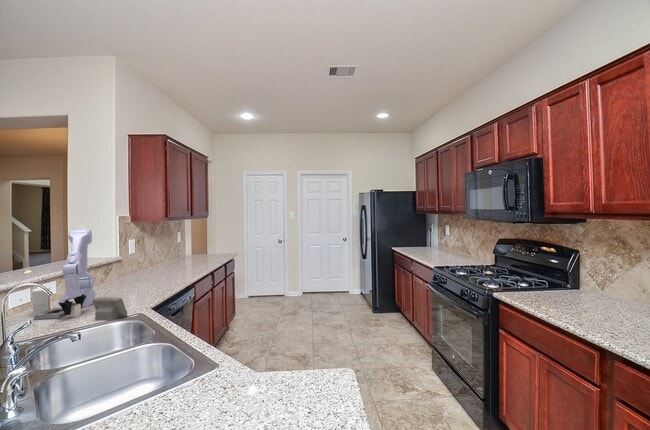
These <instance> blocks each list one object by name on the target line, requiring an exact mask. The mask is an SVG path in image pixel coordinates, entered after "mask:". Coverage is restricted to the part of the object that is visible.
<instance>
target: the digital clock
mask: <svg viewBox="0 0 650 430" xmlns="http://www.w3.org/2000/svg"><path fill="white" fill-rule="evenodd" d="M92 302H93V304H92V305H93V306H94V309H95V311H94V317H95V319H94V320H95V321H113V320H112V319H114V320H115V318H116V319H118V318H120V317H121V318H123V317H127V316H128V311H127V307H126V306H125V302H124V300H123V297H118V296H117V297H116V296H111V297H108V296H107V297H106V296H100V297H99V296H95V298H93V299H92ZM117 317H118V318H117Z"/></svg>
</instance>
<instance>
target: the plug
mask: <svg viewBox="0 0 650 430" xmlns="http://www.w3.org/2000/svg"><path fill="white" fill-rule="evenodd" d="M81 314H82V310H81V304H75V302H73V303H72V305H71V314H70V315H66V316H65V318H75V317H77V316H80V315H81Z"/></svg>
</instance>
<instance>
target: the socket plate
mask: <svg viewBox="0 0 650 430" xmlns="http://www.w3.org/2000/svg"><path fill="white" fill-rule="evenodd" d="M65 317H66V315H65V314H64V311H63V309H62V307H54V308H50V310H48V311H46V312H43V313H40V314H38V315H35V316H33V320H34V321H38V320H39V321H40V320H58V319H59V320H60V319H61V318H65Z"/></svg>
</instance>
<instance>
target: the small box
mask: <svg viewBox="0 0 650 430" xmlns="http://www.w3.org/2000/svg"><path fill="white" fill-rule="evenodd" d="M40 288H41V287H40ZM40 288H33V290H32V291H31V294H32V295H31V297H32V316H33V317H34V316H35V315H38V314H40V313H43V312H46V311H48V310H51V295H50V296H49V295H48V294H47V293H46V292H44V291H43V290H42V289H40ZM47 288H48V289H49V290H50V286H47Z"/></svg>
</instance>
